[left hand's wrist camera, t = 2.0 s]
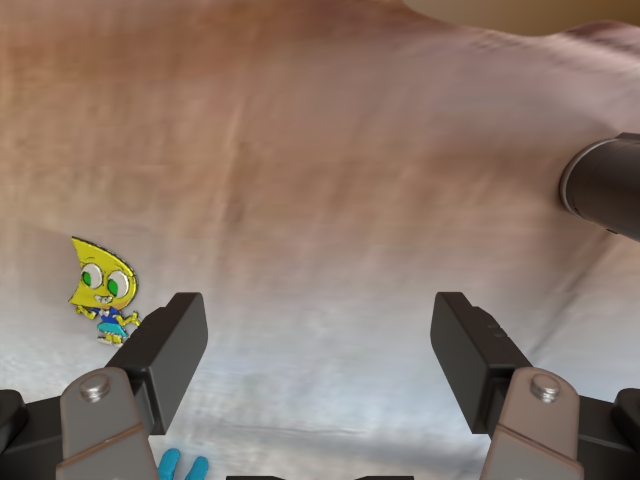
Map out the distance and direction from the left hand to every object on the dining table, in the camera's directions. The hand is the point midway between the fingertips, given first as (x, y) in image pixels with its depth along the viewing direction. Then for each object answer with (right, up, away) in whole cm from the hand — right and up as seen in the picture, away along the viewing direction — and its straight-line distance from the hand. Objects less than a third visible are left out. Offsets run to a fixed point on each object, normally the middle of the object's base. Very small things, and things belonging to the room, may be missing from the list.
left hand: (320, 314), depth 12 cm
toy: (-29, -5, +34) cm, 45 cm away
